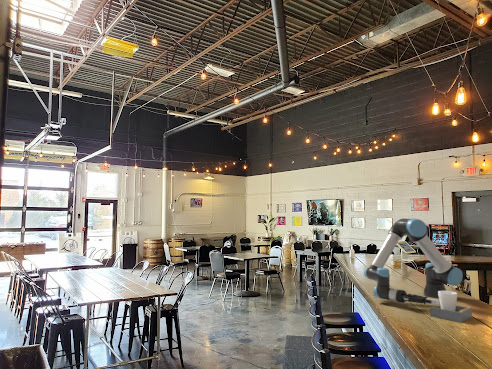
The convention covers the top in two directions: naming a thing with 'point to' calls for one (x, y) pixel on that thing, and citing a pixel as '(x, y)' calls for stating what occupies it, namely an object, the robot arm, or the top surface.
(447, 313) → the box
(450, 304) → the foam cup
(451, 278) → the robot arm
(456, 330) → the top surface
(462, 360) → the top surface
